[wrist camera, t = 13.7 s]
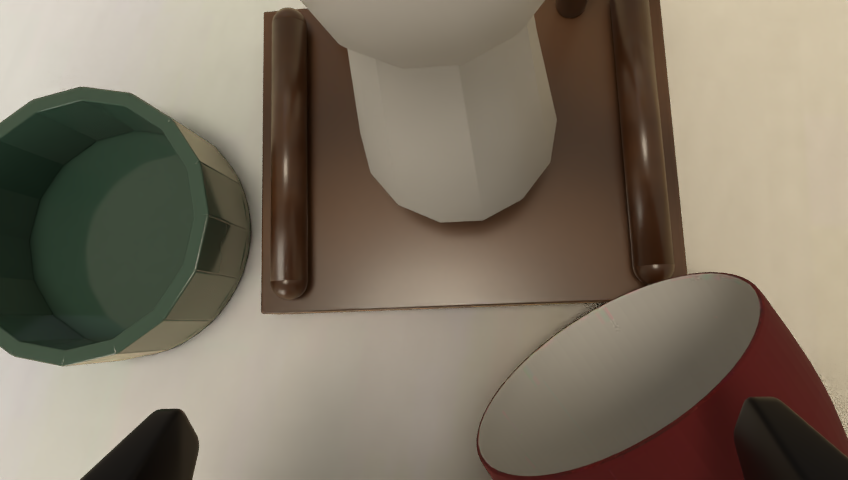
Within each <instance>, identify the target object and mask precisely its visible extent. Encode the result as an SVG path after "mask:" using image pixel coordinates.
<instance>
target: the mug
mask: <svg viewBox="0 0 848 480" xmlns="http://www.w3.org/2000/svg"><path fill="white" fill-rule="evenodd" d="M749 397H775V398H777V399H779V400H781V401H782V402H783V403H785V404H786V405H787V406H788V407H789V408H791V409H792V410H793V411H794V412H795V413H796V414H798V415H799V416H800V417H801V418H802V419H803V420H805V421H806V422H807V423H808V424H809V425H810V426H812V427H813V428H814V429H815V430H816V431H818V432H819V433H820V434H821V435H822V436H823V437H825V438H826V439H827V440H828V441H829V442H830V443H832V444H833V445H834V446H835V447H836V448H837V449H839V450H840V451H841V452H842V453H843V454H845V455H846V456H847V457H848V438H847V436H846V433H845V431H844V428H843V426H842V424H841V421H840V419H839V416H838V414H837V412H836V410H835V407H834V405H833V403H832V401H831V399H830V397H829V395H828V393H827V391H826V389H825V387H824V385H823V383H822V381H821V379H820V378H819V376H818V374H817V373H816V371H815V369H814V367H813V366H812V364H811V362H810V361H809V359H808V358H807V356H806V355H805V353H804V352H803V350H802V349H801V347H800V346H799V344H798V343H797V341H796V340H795V338H794V337H793V335H792V334H791V332H790V331H789V330H788V328H787V327H786V325H785V324H784V323H783V321H782V320H781V318H780V317H779V316H778V314H777V313H776V311H775V310H774V309H773V307H772V306H771V305H770V303H769V302H768V300H767V299H766V298H765V296H764V295H763V294H762V292H761V291H760V290H759V289H758V288H757V287H756V286H755V285H754V284H753V283H752V282H750V281H749V280H747V279H745V278H743V277H740V276H737V275H733V274H727V273H717V272H705V273H694V274H688V275H682V276H677V277H673V278H669V279H665V280H662V281H658V282H655V283H652V284H649V285H647V286H644V287H641V288H638V289H636V290H634V291H631V292H629V293H626V294H624V295H622V296H620V297H618V298H616V299H614V300H612V301H610V302H608V303H606V304H604V305H602V306H600V307H598V308H596V309H594V310H593V311H591V312H589V313H588V314H586V315H584V316H583V317H581V318H579V319H578V320H576V321H575V322H573V323H572V324H570V325H569V326H567V327H566V328H564V329H563V330H561V331H560V332H559V333H557V334H556V335H554V336H553V337H552V338H551V339H549V340H548V341H547V342H545V343H544V344H543V345H542V346H541V347H539V348H538V349H537V350H536V351H535V352H533V353H532V354H531V355H530V356H529V357H528V358H527V359H526V360H525V361H524V362H523V363H522V364H521V365H520V366H519V367H518V368H517V369H516V370H515V371H514V372H513V373H512V374H511V375H510V376H509V377H508V379H507V380H506V381H505V382H504V383H503V385H502V386H501V387H500V388H499V390H498V391H497V393H496V394H495V395H494V397H493V398H492V400H491V402H490V403H489V405H488V407H487V409H486V411H485V413H484V415H483V417H482V420H481V422H480V425H479V429H478V434H477V452H478V455H479V458H480V460H481V462H482V464H483V465H484V467H485V468H486V470H487V471H488V473H489V474H490V476H491V477H492V479H493V480H745V479H744V476H743V472H742V468H741V465H740V461H739V458H738V454H737V451H736V447H735V443H734V428H735V425H736V422H737V420H738V417H739V414H740V411H741V408H742V406H743V403H744V401H745V400H746V399H747V398H749Z"/></svg>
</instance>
